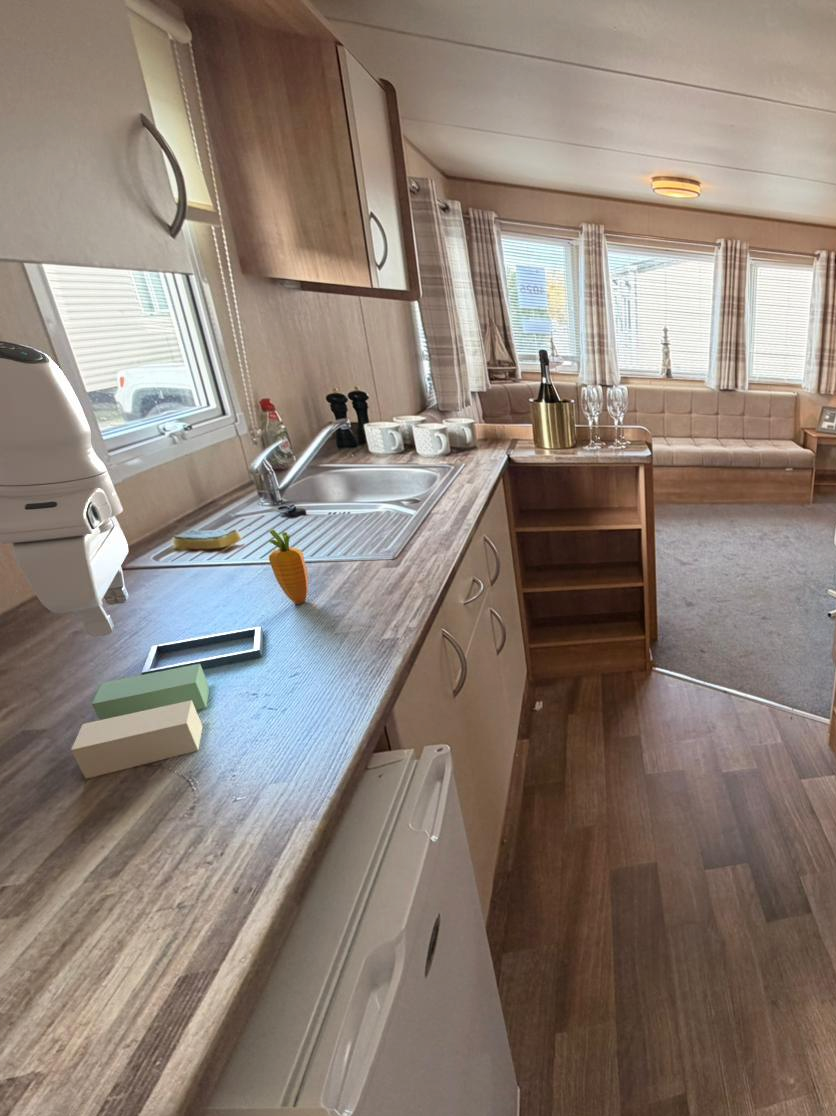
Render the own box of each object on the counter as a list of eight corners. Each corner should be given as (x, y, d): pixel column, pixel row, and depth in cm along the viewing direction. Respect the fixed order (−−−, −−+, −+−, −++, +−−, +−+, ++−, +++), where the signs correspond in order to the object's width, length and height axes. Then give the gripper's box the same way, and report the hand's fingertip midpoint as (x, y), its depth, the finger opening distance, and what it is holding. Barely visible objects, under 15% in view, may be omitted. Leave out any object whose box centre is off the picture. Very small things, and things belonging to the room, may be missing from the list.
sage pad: (107, 736, 83) (91, 704, 81) (116, 713, 88) (101, 682, 85) (208, 713, 89) (195, 682, 87) (211, 692, 93) (200, 663, 91)
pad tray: (146, 685, 94) (140, 672, 93) (155, 657, 101) (150, 645, 100) (263, 661, 101) (259, 649, 101) (264, 637, 108) (261, 626, 108)
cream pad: (88, 784, 75) (70, 750, 73) (99, 756, 80) (82, 723, 78) (200, 755, 81) (186, 723, 79) (204, 731, 85) (191, 700, 83)
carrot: (320, 606, 120) (299, 531, 113) (288, 614, 116) (264, 536, 110) (313, 598, 123) (291, 524, 116) (281, 605, 119) (257, 529, 113)
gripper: (43, 483, 74) (92, 591, 80) (-16, 533, 60) (49, 660, 65) (118, 477, 78) (160, 581, 84) (80, 523, 63) (134, 645, 69)
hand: (111, 616), depth 74 cm, fingers open, 8 cm apart
